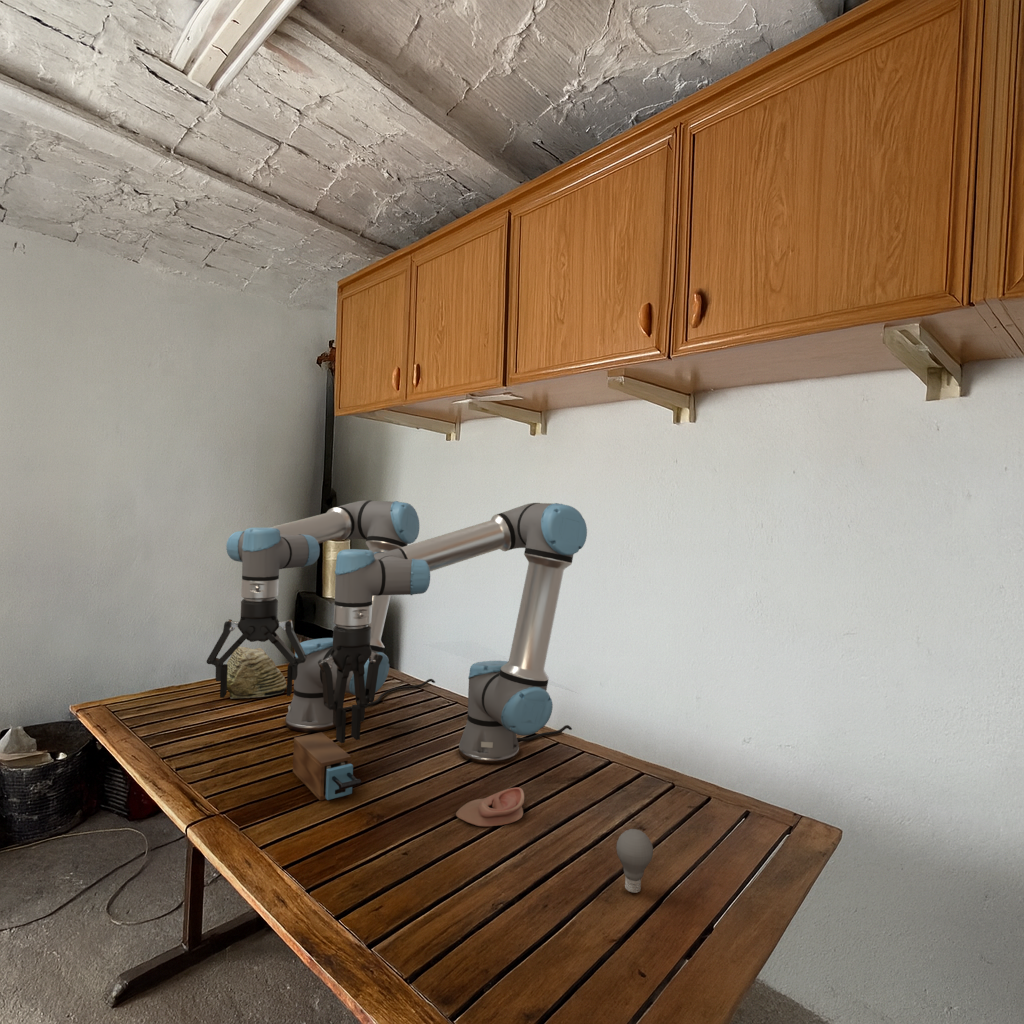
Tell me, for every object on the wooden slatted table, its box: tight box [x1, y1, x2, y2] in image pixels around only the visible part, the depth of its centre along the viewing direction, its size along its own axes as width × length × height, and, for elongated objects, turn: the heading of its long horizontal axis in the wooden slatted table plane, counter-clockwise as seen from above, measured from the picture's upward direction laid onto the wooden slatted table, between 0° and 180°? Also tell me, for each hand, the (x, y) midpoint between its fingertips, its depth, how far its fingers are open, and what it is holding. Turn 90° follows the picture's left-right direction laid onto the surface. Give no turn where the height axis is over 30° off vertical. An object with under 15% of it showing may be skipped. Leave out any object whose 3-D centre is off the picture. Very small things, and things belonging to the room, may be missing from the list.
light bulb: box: [615, 828, 654, 894], centre depth 106 cm, size 6×6×10 cm
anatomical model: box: [455, 786, 525, 827], centre depth 129 cm, size 13×4×12 cm
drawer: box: [324, 762, 362, 801], centre depth 136 cm, size 21×5×6 cm, turn 38°
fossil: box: [226, 646, 287, 699], centre depth 198 cm, size 9×18×15 cm, turn 132°
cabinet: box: [292, 731, 352, 801], centre depth 141 cm, size 16×7×8 cm, turn 38°
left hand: (256, 695), depth 139 cm, fingers open, 13 cm apart
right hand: (348, 739), depth 130 cm, fingers open, 3 cm apart
